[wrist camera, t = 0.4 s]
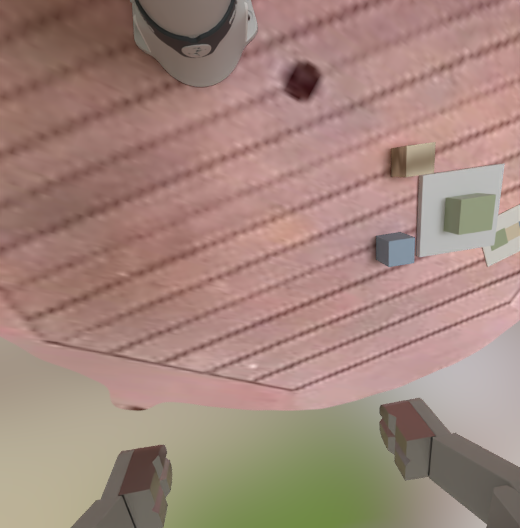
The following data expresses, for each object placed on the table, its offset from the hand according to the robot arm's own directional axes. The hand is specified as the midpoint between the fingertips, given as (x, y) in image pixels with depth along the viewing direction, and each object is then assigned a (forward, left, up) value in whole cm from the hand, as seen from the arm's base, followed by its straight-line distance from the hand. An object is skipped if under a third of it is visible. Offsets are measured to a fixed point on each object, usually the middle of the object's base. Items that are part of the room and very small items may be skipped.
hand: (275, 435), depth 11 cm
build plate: (+4, +43, -46) cm, 63 cm away
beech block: (-7, +32, -46) cm, 57 cm away
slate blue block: (+9, +29, -46) cm, 55 cm away
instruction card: (+10, +56, -46) cm, 73 cm away
